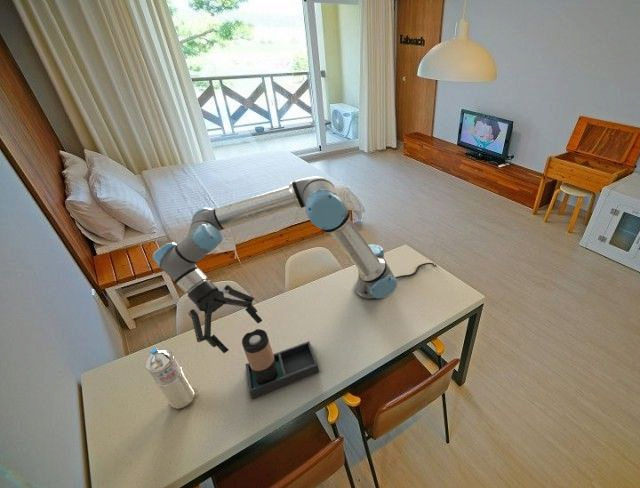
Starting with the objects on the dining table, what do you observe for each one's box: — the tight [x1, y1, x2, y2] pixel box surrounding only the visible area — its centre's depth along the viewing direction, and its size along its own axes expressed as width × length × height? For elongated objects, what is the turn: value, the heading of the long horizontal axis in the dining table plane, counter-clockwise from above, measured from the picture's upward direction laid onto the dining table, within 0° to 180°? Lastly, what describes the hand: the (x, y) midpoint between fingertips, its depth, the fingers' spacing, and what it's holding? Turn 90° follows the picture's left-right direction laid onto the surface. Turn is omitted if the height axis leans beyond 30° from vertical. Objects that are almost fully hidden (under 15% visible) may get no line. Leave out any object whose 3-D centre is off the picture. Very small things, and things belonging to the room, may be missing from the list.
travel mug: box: [241, 328, 278, 385], centre depth 106 cm, size 8×8×20 cm
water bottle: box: [144, 347, 196, 410], centre depth 97 cm, size 7×7×25 cm
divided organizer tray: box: [245, 340, 320, 400], centre depth 113 cm, size 22×12×4 cm, turn 118°
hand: (244, 336), depth 103 cm, fingers open, 13 cm apart
